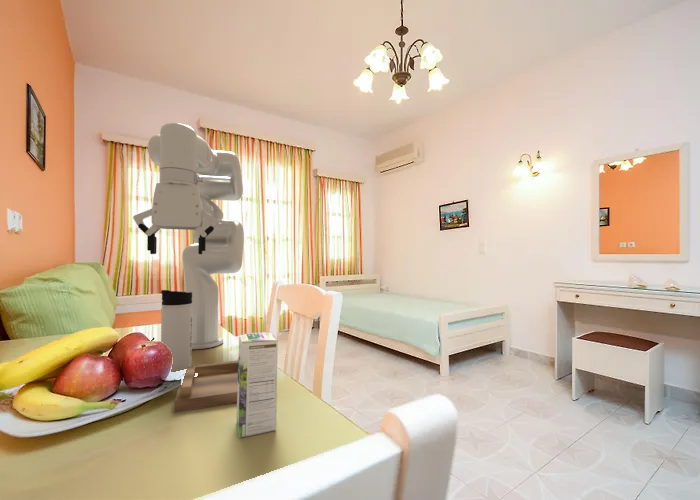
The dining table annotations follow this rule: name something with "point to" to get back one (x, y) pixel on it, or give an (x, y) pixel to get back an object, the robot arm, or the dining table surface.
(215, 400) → the stand
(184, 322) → the travel mug
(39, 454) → the dining table surface
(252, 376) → the syrup box
